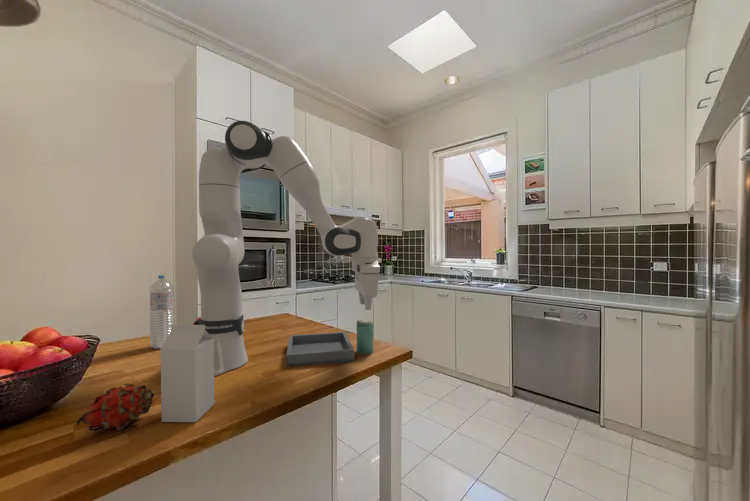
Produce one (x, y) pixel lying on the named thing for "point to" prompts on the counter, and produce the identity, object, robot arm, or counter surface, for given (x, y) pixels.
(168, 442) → the counter surface
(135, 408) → the dragon fruit
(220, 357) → the robot arm
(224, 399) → the counter surface
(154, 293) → the water bottle
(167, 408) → the milk carton
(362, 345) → the green rounded cylinder
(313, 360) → the tray
